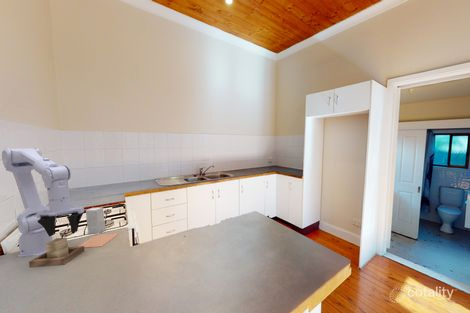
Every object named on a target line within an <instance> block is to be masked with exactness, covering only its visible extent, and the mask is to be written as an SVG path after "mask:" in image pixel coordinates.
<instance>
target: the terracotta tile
mask: <svg viewBox="0 0 470 313" xmlns="http://www.w3.org/2000/svg"><path fill="white" fill-rule="evenodd" d="M119 234H120V233H109V234H94V236H92V237H90V238H89V239H88V240H86V241H84V242H82V243H81V244H79V245H78V246H77V247H79V246H84V249H93V248H102V247H104V246H105V245H107V244H108V243H109V242H111V241H112V240H113V239H114V238H116V237H117V236H119Z"/></svg>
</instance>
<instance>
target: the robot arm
mask: <svg viewBox="0 0 470 313" xmlns="http://www.w3.org/2000/svg"><path fill="white" fill-rule="evenodd" d="M1 160H2V164H3V167H4V168H5V171H7V172H9V173H12V175H13V177H14V180H15V183H16V185H17V189H18V192H19V195H20V198H21V201H22V204H23V207H24V210H23V211H22V212H21V213H19V215H18V216H17V218H16V221H17V228H18V231H19V233H20V236H19V237H18V247H19V255H17V257H31V256H40V255H42V254H44V253H46V252H47V251H46V243H48V242H50V241H52V240H54V238H53V235H55V234H56V222H57V217H58V216H64V215H68V216H66V218H67V220H68V222H69V224H70V225H69V227H70V231H71V234H75V233H77V232H78V230H79V226H80V221H81V218H82V217H83V215H84V212H85V207H84V206H72V205H71V197H70V189H69V180H70V179H71V174H72V173H71V170H70V168H69V166H68V165H59V164H58V163H56V162H54V161H53V160H51V159H50V158H49V157H45V158H44V157H43V156H42V152H41V150H40V149H39V148H37V147H33V148H32V147H31V148H30V147H29V148H4V149H3V150H2V152H1ZM33 170H34V171H35V172H37V173H38V174H40V175H41V180H42V182H43V183H44V187H45V189H46V190H47V191H46V192H47V199H48V205H44V204H43V203H42V201H41V198H40V195H39V192H38V189H37V186H36V182H35V180H34V177H33V173H32V171H33ZM71 206H72V207H71Z"/></svg>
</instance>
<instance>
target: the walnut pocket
mask: <svg viewBox="0 0 470 313" xmlns="http://www.w3.org/2000/svg"><path fill="white" fill-rule="evenodd" d="M78 246H79V245H78ZM78 246H68V252H69V254H68V255H67V256H65V257H61V258H48V259H47V252H45V253H43V254H41V255H37V257H35V258H33V259H31V260H30V261H28V264H29V265H28V266H29V268H39V267H52V266H53V267H54V266H65V265H67V264H68V263H69V262H71V261H73V260H74V259H75V258H77V257H78V256H79V255H81V254H82V253H84V252H85V248H84V246H79V247H78Z"/></svg>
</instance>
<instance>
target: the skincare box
mask: <svg viewBox="0 0 470 313" xmlns="http://www.w3.org/2000/svg"><path fill="white" fill-rule="evenodd" d="M85 217H86V225H87V233H88V235H99V234H98V233H100V234H102V233H103V232H105V231H106V223H105V222H106V221H105V213H104V207H91V208H88V209H86V210H85Z"/></svg>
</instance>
